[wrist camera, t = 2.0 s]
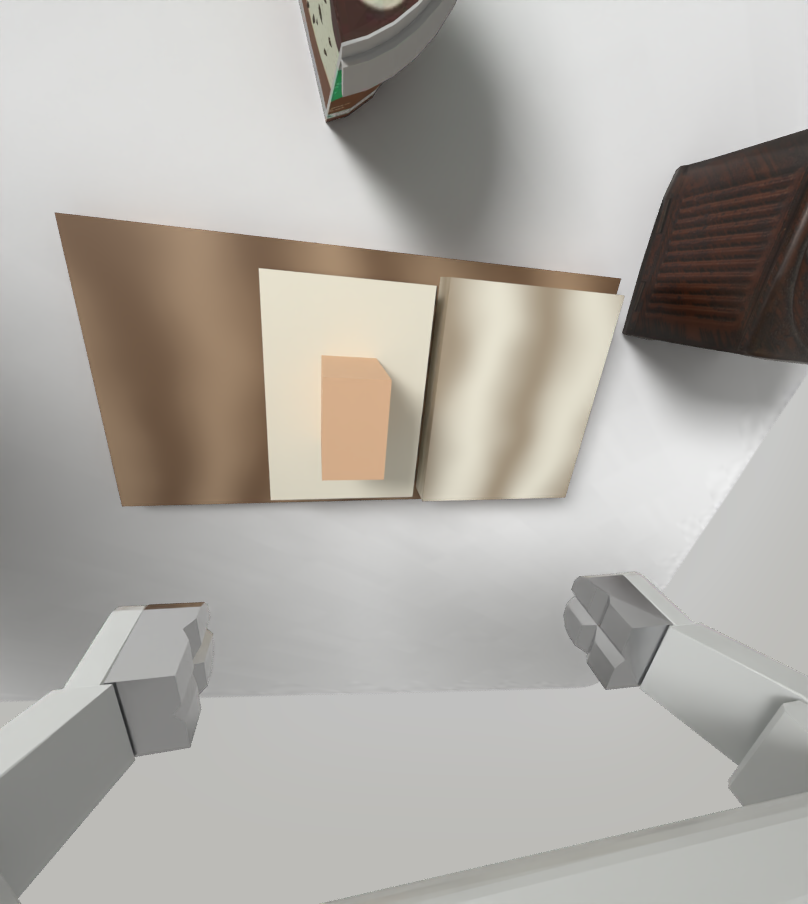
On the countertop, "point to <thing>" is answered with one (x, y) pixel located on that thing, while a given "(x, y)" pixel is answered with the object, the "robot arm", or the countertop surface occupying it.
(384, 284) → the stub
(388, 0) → the food container
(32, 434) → the countertop surface
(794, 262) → the manual coffee grinder
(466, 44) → the countertop surface
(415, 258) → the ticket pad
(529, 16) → the countertop surface
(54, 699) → the robot arm
